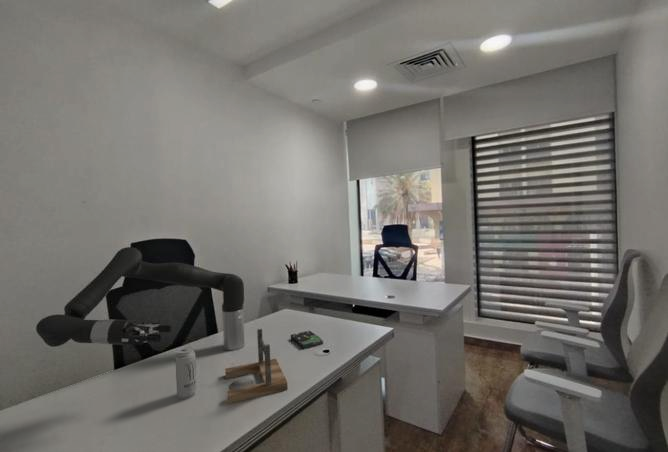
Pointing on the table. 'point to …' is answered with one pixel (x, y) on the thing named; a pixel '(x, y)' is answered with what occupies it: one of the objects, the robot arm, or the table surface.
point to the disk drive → (306, 340)
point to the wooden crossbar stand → (268, 371)
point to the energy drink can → (186, 373)
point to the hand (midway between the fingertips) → (166, 333)
